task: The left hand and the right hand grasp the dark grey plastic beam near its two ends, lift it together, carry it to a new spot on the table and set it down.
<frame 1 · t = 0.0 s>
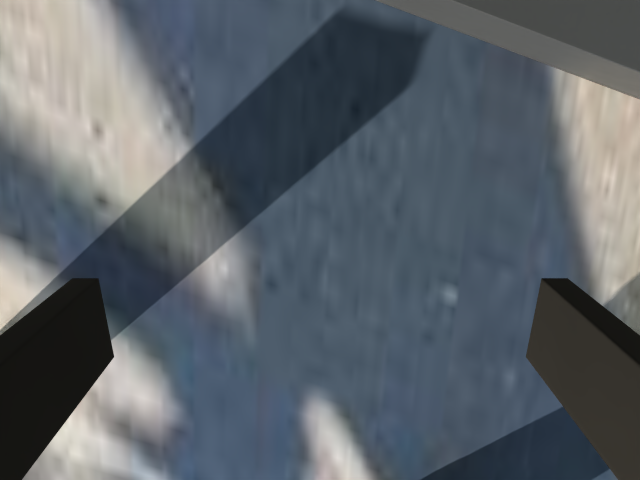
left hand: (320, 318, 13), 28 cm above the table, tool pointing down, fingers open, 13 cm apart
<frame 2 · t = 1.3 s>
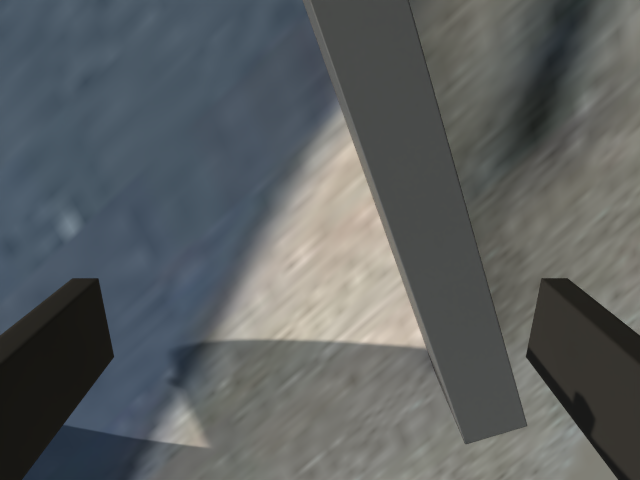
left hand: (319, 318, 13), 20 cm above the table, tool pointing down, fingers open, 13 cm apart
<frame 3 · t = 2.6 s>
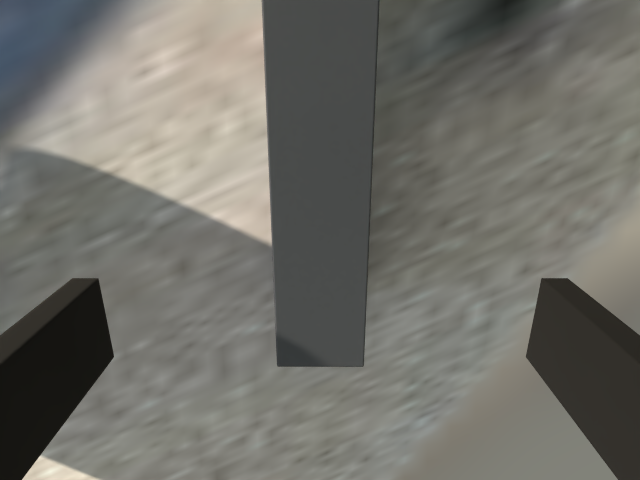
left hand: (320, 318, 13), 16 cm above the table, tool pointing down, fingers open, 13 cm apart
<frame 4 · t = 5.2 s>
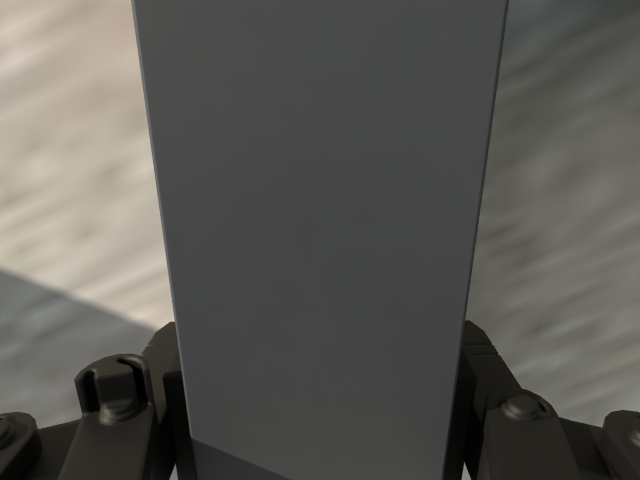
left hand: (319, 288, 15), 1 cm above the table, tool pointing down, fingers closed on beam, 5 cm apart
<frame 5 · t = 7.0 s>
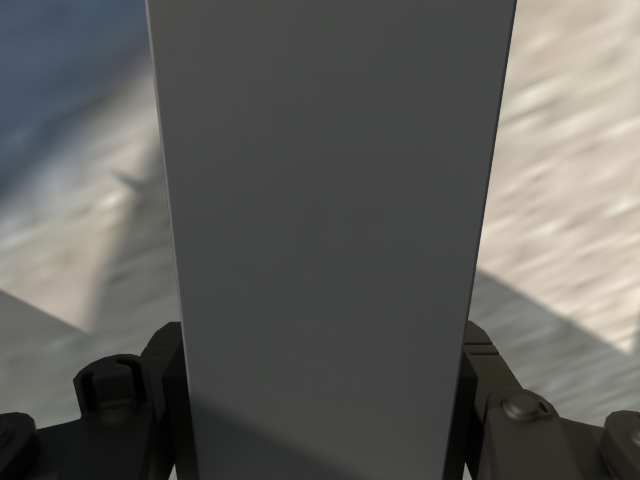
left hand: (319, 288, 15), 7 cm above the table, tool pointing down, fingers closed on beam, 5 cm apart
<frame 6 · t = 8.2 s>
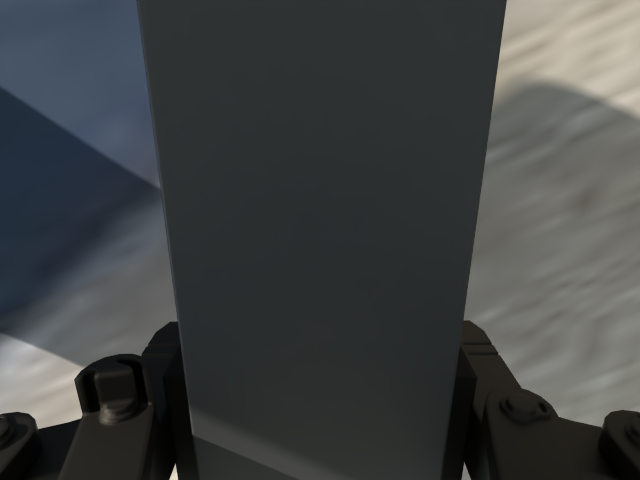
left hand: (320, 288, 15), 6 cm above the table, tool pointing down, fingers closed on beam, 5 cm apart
when the left hand's fingers open (1 cm above the table, at t = 8.9 s): beam stays where it is, on the table.
when the right hand's fingers open (4 cm above the table, at t = 9.0 s): beam stays where it is, on the table.
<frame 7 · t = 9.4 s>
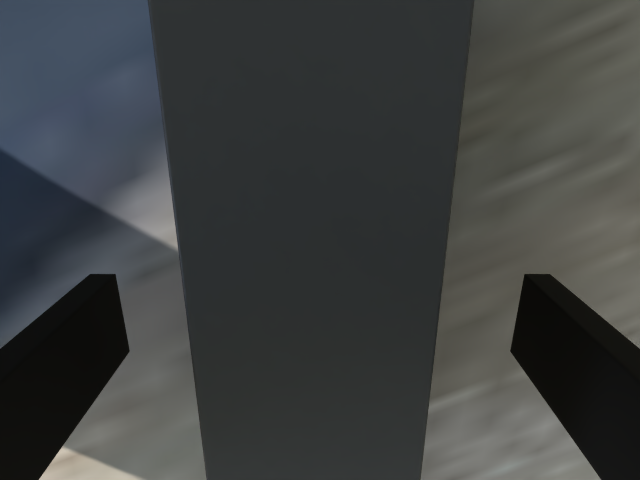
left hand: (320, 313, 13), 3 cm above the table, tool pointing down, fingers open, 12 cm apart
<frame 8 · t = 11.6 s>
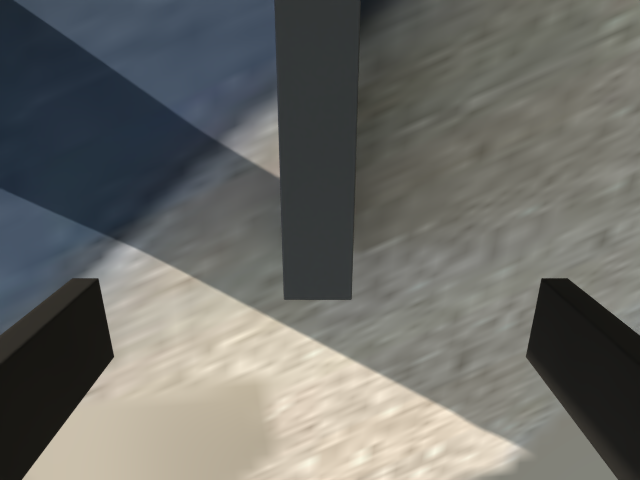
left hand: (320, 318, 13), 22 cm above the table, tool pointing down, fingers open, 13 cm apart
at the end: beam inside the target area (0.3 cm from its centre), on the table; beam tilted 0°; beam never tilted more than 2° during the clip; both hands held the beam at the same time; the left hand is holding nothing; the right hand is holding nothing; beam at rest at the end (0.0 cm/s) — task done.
